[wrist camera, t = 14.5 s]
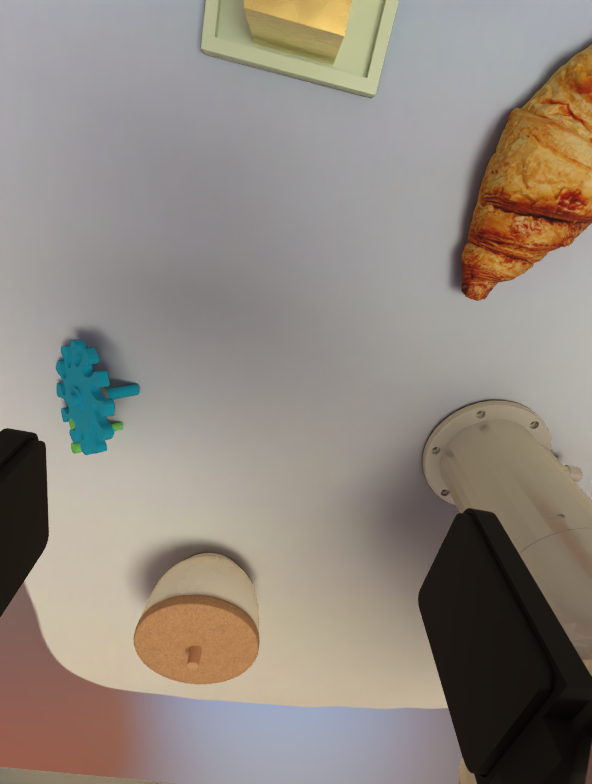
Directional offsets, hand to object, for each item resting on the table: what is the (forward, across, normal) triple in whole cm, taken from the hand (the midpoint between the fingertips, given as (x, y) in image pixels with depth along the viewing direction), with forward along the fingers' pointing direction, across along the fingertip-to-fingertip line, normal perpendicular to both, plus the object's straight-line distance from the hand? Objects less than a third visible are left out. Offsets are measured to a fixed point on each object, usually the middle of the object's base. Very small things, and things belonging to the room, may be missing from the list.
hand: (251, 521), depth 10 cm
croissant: (+31, -18, -11) cm, 38 cm away
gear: (+31, +14, +14) cm, 37 cm away
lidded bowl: (+31, +1, +37) cm, 48 cm away
